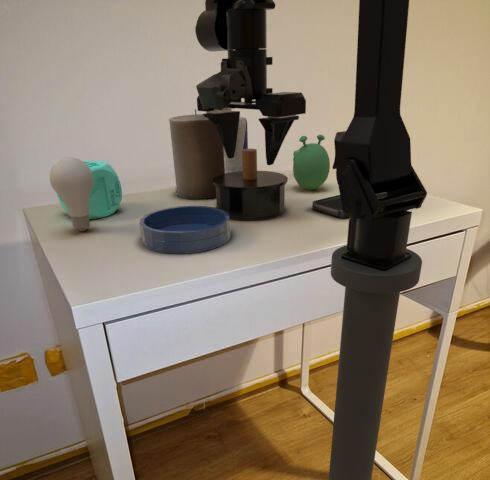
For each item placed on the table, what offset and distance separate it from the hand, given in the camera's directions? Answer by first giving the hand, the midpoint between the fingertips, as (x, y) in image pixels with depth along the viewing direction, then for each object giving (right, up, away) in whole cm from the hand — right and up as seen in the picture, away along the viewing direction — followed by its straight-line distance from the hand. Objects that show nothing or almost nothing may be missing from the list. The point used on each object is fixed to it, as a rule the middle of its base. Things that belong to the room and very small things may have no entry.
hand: (249, 161), depth 76 cm
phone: (+19, -6, +5) cm, 20 cm away
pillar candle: (-9, -1, +16) cm, 18 cm away
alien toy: (+12, 0, +16) cm, 20 cm away
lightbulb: (-26, -12, -3) cm, 29 cm away
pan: (-9, -14, -7) cm, 18 cm away
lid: (0, -3, +2) cm, 3 cm away
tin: (0, -7, +4) cm, 8 cm away
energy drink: (-3, +5, +26) cm, 26 cm away
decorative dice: (-27, -7, +6) cm, 29 cm away
